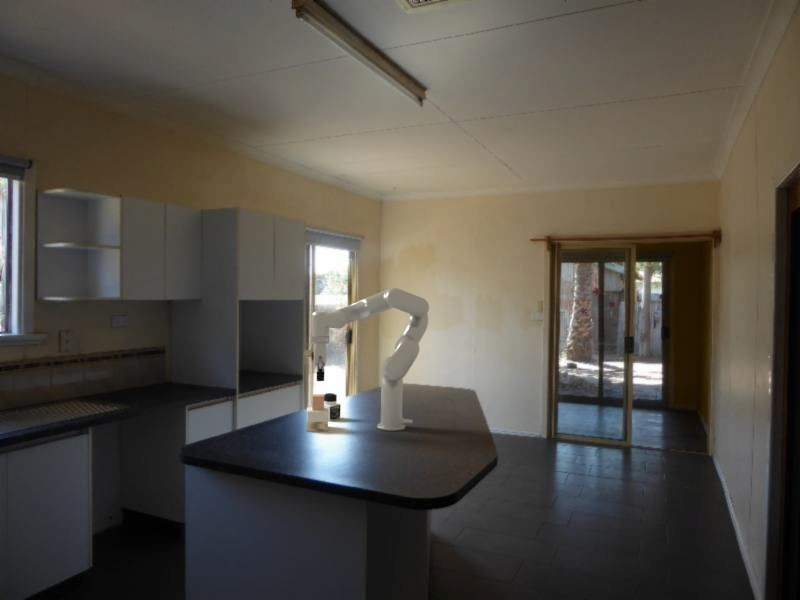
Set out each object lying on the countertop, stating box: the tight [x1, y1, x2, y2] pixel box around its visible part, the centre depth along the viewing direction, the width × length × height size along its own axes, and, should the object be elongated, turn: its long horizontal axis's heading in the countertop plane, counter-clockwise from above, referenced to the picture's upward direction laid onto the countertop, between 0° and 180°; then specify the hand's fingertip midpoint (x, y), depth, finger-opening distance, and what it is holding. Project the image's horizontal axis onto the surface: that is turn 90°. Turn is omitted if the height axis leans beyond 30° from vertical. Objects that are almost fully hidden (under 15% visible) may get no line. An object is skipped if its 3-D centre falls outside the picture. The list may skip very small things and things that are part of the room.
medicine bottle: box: [323, 392, 341, 422], centre depth 264 cm, size 7×7×12 cm
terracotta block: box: [311, 393, 324, 410], centre depth 244 cm, size 5×5×6 cm
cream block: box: [306, 406, 330, 423], centre depth 244 cm, size 9×9×4 cm
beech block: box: [305, 421, 329, 433], centre depth 244 cm, size 9×9×4 cm
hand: (320, 379), depth 245 cm, fingers open, 9 cm apart
